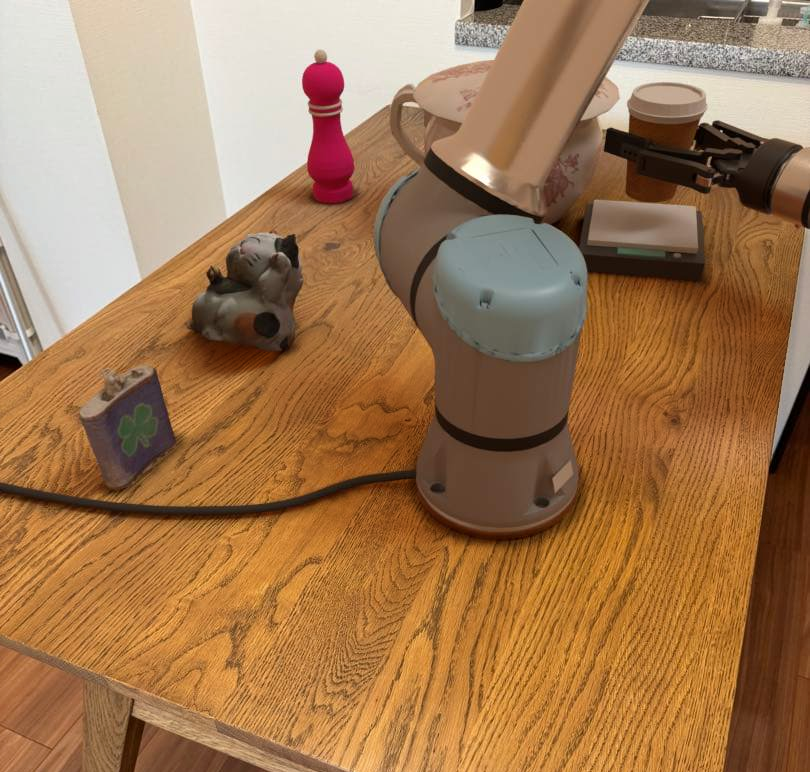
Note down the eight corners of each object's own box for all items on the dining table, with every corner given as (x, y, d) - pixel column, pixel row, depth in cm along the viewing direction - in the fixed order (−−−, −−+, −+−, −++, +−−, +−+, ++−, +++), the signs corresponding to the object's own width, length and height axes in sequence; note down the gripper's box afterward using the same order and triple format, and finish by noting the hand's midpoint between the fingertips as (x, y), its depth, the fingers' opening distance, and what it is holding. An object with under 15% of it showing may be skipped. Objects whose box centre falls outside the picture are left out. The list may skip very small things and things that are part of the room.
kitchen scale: (575, 270, 103) (578, 247, 101) (584, 219, 114) (587, 197, 112) (700, 281, 101) (707, 257, 98) (697, 227, 111) (703, 205, 109)
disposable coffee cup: (688, 210, 99) (712, 107, 90) (612, 206, 101) (628, 104, 92) (685, 181, 105) (707, 81, 97) (613, 177, 107) (629, 79, 98)
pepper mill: (365, 191, 123) (356, 46, 109) (338, 208, 119) (325, 59, 105) (328, 183, 126) (315, 40, 112) (301, 199, 122) (283, 53, 107)
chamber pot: (641, 221, 113) (672, 58, 98) (492, 276, 103) (501, 104, 88) (517, 163, 130) (527, 16, 115) (378, 205, 119) (370, 50, 105)
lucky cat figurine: (180, 322, 97) (199, 204, 92) (275, 341, 102) (297, 230, 97) (195, 350, 84) (218, 215, 79) (302, 370, 89) (329, 245, 84)
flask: (120, 495, 75) (84, 403, 67) (97, 486, 76) (59, 394, 68) (183, 441, 80) (156, 350, 73) (161, 433, 81) (132, 343, 74)
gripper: (722, 242, 87) (570, 182, 99) (827, 189, 95) (675, 141, 108) (741, 172, 81) (578, 118, 94) (850, 123, 90) (687, 80, 103)
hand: (630, 130), depth 101 cm, fingers closed on disposable coffee cup, 8 cm apart
